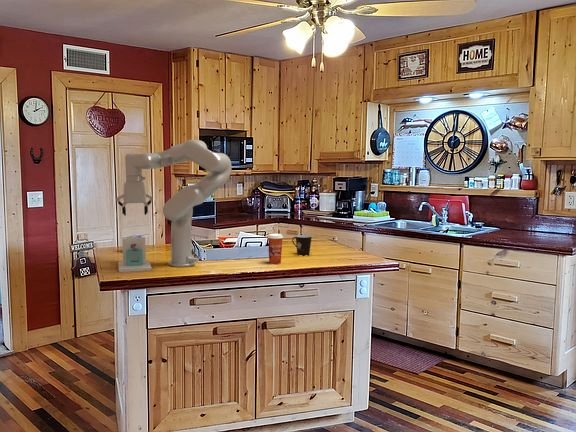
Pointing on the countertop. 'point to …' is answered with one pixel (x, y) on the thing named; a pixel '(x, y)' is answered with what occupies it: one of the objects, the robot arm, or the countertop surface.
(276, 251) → the paper cup
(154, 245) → the countertop surface
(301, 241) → the coffee mug
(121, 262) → the bracket
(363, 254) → the countertop surface
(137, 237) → the medicine box
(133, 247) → the shaft
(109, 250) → the countertop surface
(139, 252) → the spacer
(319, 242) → the countertop surface
